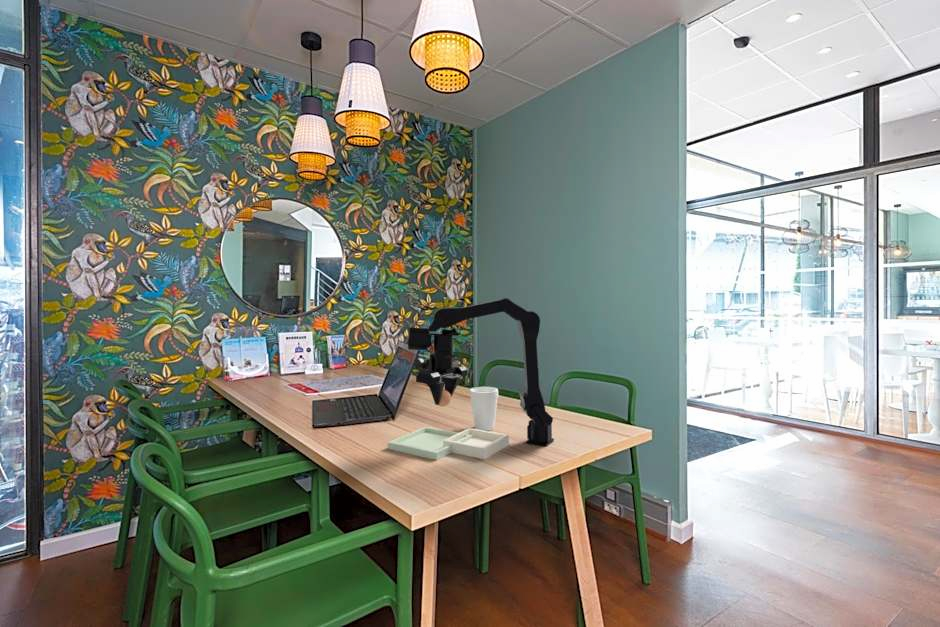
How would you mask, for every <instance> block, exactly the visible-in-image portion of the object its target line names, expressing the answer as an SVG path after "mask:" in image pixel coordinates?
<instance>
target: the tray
mask: <svg viewBox="0 0 940 627" xmlns="http://www.w3.org/2000/svg"><path fill="white" fill-rule="evenodd" d="M458 433H459V432H457V431H452V430H446V429H441V428H436V427H430V426H424V427H421V428H419V429H417V430H414V431H411V432H409V433H407V434H404V435H401V436H399V437H398V438H397V437H396V438H395V439H392V440H390V441H387V450H392V451H395V452H400V453H403V454H408V455H412V456H417V457H421V458H425V459H430V460H435V461H438V460H441V459H442V458H445V457H446V456H448V455H449V454H453V453H452V446H451V445H448V446H446V447H444V448H443V440H445V439H447V438H449V437H451V436H453V435H455V434H458ZM470 439H472V435H469V434H466V435H465V437H464V438H462V439H460V440H458V441H456V442H461V443H464V442H466V441H468V440H470Z"/></svg>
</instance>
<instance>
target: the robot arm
mask: <svg viewBox="0 0 940 627" xmlns="http://www.w3.org/2000/svg"><path fill="white" fill-rule="evenodd" d="M502 312H503V313H505V314H506V315H508V316H509V317H510V318H512V320H514V321H516V323H517V328H518V333H519V335H520V339H521V341H522V354H523V355H522V356H523V371H524V372H523V373H524V374H523V375H524V389H523V392H519V397H520V402H519V406H520V407H521V409H522V411H523V412H524V413H525V415H527V417H528V418H529V419H530V420H528V425H527V427H526V428H527V429H526V430H527V432H526V433H527V434H526V438H527V440H526V444H532V445H538V446H542V447H547V446H549V445H550V444H552V442H554V441H555V438H553V437H552V436H553V433H552V432H553V431H552V426H553V424H552V423H553V421H554V418H553V417H552V416H551V415H550V414H549V413H548V412H547V411H546V406H545V402H544V398H543V394H542V392H541V389H540V380H539V378H540V377H539V362H538V360H539V358H538V345H537V342H538V337H539V334H540V327H541V326H540V325H541V318H540V317H541V316H539V314H538V313H536V312H535V311H530V310H527V309H525V308H523V307H521V306H519V305H518V304H516V303H514V302H513V301H511V299H510V298H506V297H504V298H502V297H501V298H500V299H497V300H491V301H488V302H483V303H478V304H473V305H468V306H464V307H456V306H455V307H440V308H439V309H436V311H435V312H434V316H433V321H432V322H431V323H430V324H429V325H428V327H416V326H410V327H409V332H408V339H407V340H408V341H407V345H408V346H407V349H408V351H428V348H431V347H432V336H433V353H429V358H428V359H423V358H422V357H421V358H417V359H414V365H413V366H414V369H415V370H416V371H418V372H417V373H416V375H415V382H416V383H420V384H424V385H426V386H427V387H429V390H430V392H431V396H432V398H433V402H434V404H435V405H436V406H438V405H439V403H440V399H441V395H442V391H443V389H444V390H447V391H448V392H449V393H450V395H451V398H452V396H453V395H454V392H455V390H456V389H457V386H458V384H459V383H460V381H461V380H462V377H466V376H468V371H469V370H468V368H467V366H465V365H457V364H454V361H453V360H454V358H456V357H457V355H456V353H454V336H460V334H461V333H460V332H459V331H458V330H457V329H456V327H455V325H457V324H460V323H462V322H463V321H466V320H470V319H476V318H480V317H485V316H489V315H493V314H499V313H502ZM452 326H453V327H452ZM450 327H452V328H451V329H447V328H450ZM441 328H442V329H441ZM440 329H441V332H436V331H438V330H440ZM459 375H460V376H461V377H459Z"/></svg>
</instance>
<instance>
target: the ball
mask: <svg viewBox="0 0 940 627" xmlns="http://www.w3.org/2000/svg"><path fill="white" fill-rule="evenodd" d="M451 400H452V397H451V395H450V393H449V392H448V391H447V390H445V388H443V391H442V395H441V399H440V403H439V405H437V406H439V407H447V406H449V404H450V403H451Z"/></svg>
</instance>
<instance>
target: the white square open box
mask: <svg viewBox="0 0 940 627" xmlns="http://www.w3.org/2000/svg"><path fill="white" fill-rule="evenodd" d="M466 434H469V435H472V439H470V440H468V441H466V442H464V443H461V442H456V441H458V440H460V439H462V438H464V437H465V435H466ZM509 438H510V435H509V434H506V433H501V432H494V431H491V430H489V431H484V430H478V429H476V428H470V427H469V428H466V429H464V430H462V431H460V432H458V434H455V435H453V436H451V437H449V438H447V439H445V440H443V448H444V447H446V446H448V445H451V446H452V453H451V454H458V455H462V456H467V457H471V458H477V459H481V460H487V459H488V458H490V457H491V456H493V455H494V454H496V453H498V452H500V451H502V450H503V449H504V448H506V447H508V446H509V445H510V439H509Z"/></svg>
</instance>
